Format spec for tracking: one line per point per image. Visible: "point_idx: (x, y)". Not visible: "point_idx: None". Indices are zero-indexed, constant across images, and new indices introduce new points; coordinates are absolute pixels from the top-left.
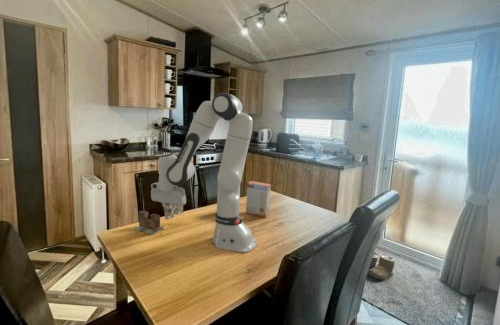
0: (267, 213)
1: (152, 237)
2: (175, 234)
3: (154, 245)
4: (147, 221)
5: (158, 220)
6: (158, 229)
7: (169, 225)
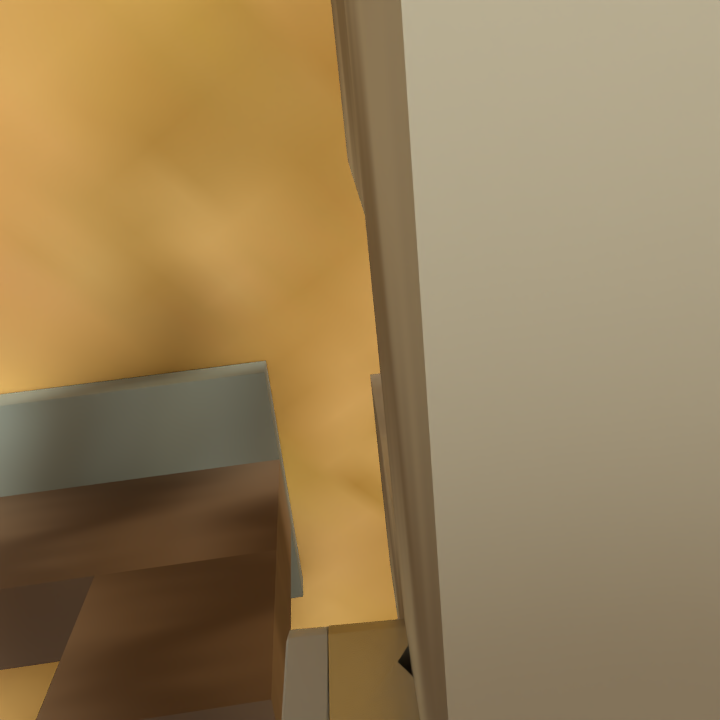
0: None
1: (367, 619)
2: None
3: None
4: (40, 660)
5: (280, 627)
6: (283, 496)
7: (218, 177)
